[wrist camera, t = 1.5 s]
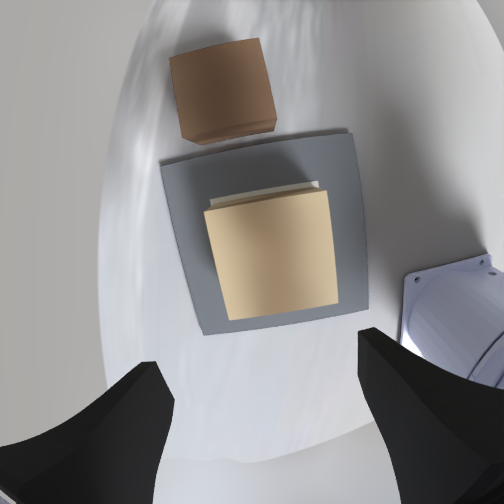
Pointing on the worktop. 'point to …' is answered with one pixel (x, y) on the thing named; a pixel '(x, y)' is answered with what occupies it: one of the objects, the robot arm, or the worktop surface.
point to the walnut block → (223, 92)
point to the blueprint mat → (258, 183)
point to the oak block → (274, 252)
